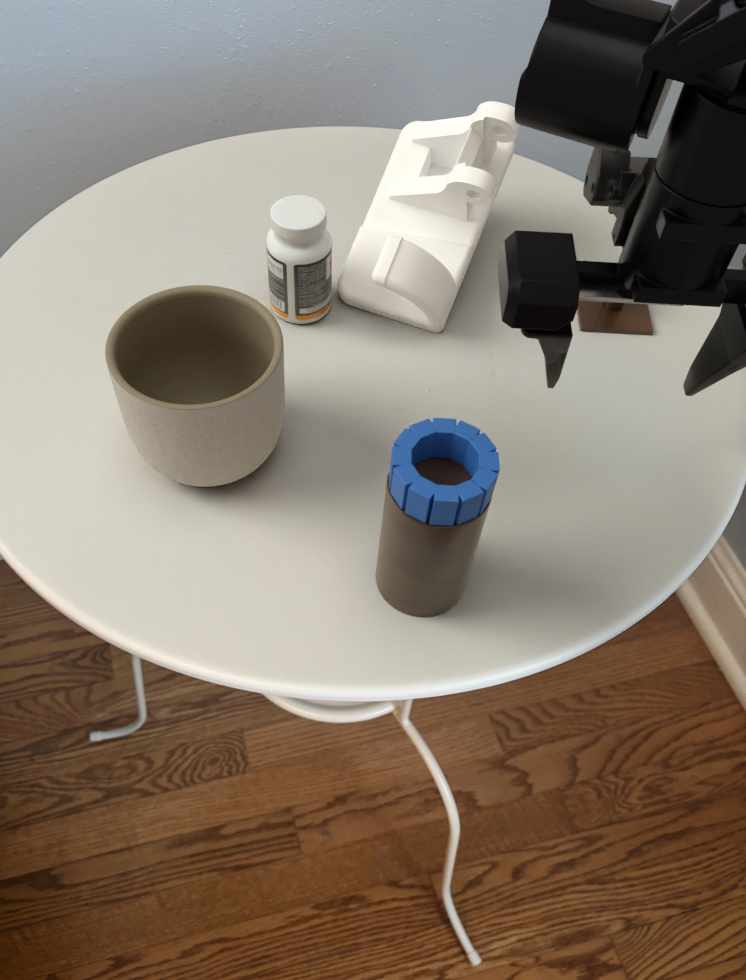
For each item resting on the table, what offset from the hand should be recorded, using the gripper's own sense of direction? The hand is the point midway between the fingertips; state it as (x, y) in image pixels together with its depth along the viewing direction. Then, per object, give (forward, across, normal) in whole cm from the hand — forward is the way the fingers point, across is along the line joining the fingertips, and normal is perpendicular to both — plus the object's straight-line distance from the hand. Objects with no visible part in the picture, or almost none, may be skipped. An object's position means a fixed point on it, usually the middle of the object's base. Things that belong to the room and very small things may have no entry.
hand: (618, 387), depth 56 cm
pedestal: (+12, +12, +8) cm, 19 cm away
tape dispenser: (+12, +12, -26) cm, 31 cm away
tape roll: (+1, +12, +8) cm, 15 cm away
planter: (+12, +29, -3) cm, 32 cm away
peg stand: (+12, -6, -22) cm, 26 cm away
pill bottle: (+12, +23, -20) cm, 33 cm away
